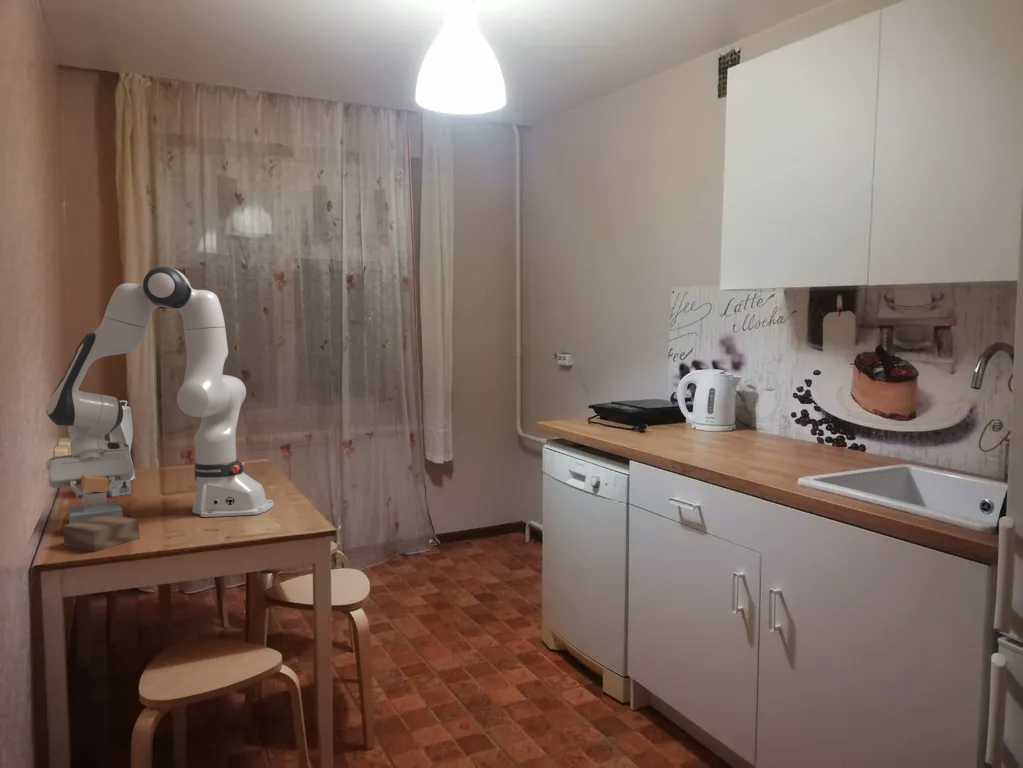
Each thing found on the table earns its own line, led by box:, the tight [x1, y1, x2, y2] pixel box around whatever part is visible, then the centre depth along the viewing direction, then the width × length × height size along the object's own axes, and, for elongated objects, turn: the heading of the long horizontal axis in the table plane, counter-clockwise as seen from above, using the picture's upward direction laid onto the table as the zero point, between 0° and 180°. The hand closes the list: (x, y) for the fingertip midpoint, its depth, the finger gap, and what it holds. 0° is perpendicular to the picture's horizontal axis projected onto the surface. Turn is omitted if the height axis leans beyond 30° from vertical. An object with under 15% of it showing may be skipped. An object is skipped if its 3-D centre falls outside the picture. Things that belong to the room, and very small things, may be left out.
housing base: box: [81, 490, 108, 512], centre depth 203 cm, size 6×6×4 cm
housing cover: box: [79, 475, 109, 492], centre depth 203 cm, size 6×6×4 cm
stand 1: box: [67, 500, 124, 524], centre depth 204 cm, size 12×12×5 cm
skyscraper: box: [108, 400, 136, 481], centre depth 259 cm, size 8×8×28 cm
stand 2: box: [62, 514, 140, 553], centre depth 189 cm, size 12×12×5 cm
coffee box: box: [107, 442, 132, 498], centre depth 242 cm, size 9×6×16 cm
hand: (94, 494), depth 203 cm, fingers closed on housing base, 5 cm apart
